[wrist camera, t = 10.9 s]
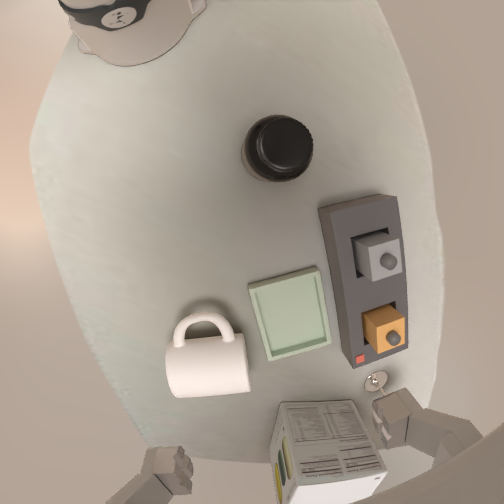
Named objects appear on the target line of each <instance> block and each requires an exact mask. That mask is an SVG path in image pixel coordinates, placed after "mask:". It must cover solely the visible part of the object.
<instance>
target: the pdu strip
mask: <svg viewBox="0 0 504 504" xmlns="http://www.w3.org/2000/svg"><path fill="white" fill-rule="evenodd" d="M318 212H319V217H320V221H321V226H322V231H323V236H324V241H325V246H326V252H327V257H328V262H329V268H330V274H331V279H332V285H333V291H334V297H335V304H336V310H337V317H338V324H339V331H340V338H341V346H342V352H343V353H344V355H345V357H346V358H347V360H348V361H349V363H350V365H351V366H352V368H353V369H355V368H358V367H360V366H363V365H366V364H369V363H371V362H374V361H377V360H379V359H382V358H384V357H387V356H390V355H392V354H395V353H397V352H399V351H402V350H404V349H407V348H408V301H407V282H406V268H405V257H404V247H403V238H402V229H401V222H400V215H399V208H398V201H397V196H390V195H382V194H377V195H372V196H368V197H364V198H359V199H355V200H351V201H347V202H342V203H338V204H334V205H330V206H326V207H322V208H318ZM376 230H378V231H381V232H383V233H386V234H389V235H391V236H394V237H396V238H399V243H400V252H401V263H402V272H401V273H398V274H395V275H392V276H389V277H386V278H383V279H380V280H377V281H374V282H372V281H371V280H370V279H368V278H367V277H366V276H364V275H363V274H362V273H360V272H359V271H358V270H356V269H355V263H354V256H353V250H352V244H351V238H350V237H354V236H357V235H361V234H365V233H368V232H372V231H376ZM385 304H390V305H391V306H392V307H393V308H394V309H395V310H397V311H398V312H399V313H400V314H401V315H403V316H404V319H405V344H402V345H400V346H397V347H395V348H392V349H390V350H387V351H384V352H382V353H379V354H377V352H376V351H375V350H374V349H373V347H372V346H371V345H370V343H369V342H368V341H367V340H366V339H365V337H364V336H363V328H362V318H361V313H362V312H365V311H368V310H371V309H374V308H377V307H380V306H382V305H385Z"/></svg>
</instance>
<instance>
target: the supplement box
mask: <svg viewBox="0 0 504 504" xmlns="http://www.w3.org/2000/svg"><path fill="white" fill-rule="evenodd" d="M269 453H270V459H271V466H272V472H273V478H274V485H275V492H276V498H277V504H350V503H353V502H356V501H359V500H362V499H364V498H367V497H370V496H371V495H372V493H373V492H374V490H375V489H376V487H377V486H378V485H379V484H380V482H381V481H382V480H383V478H384V477H385V475H386V474H387V473H388V470H387V468H386V466H385V464H384V462H383V460H382V458H381V456H380V454H379V452H378V450H377V448H376V446H375V444H374V442H373V440H372V438H371V436H370V434H369V432H368V430H367V428H366V426H365V424H364V422H363V420H362V418H361V416H360V414H359V412H358V411H357V408H356V407H355V405H354V403H353V401H352V400H344V401H325V402H281V404H280V408H279V412H278V415H277V419H276V423H275V427H274V431H273V435H272V439H271V443H270V446H269Z"/></svg>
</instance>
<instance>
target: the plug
mask: <svg viewBox="0 0 504 504" xmlns="http://www.w3.org/2000/svg"><path fill="white" fill-rule="evenodd" d="M361 318H362V328H363V336H364V337H365V339H366V340H367V341H368V342H369V343H370V345H371V346H372V347H373V349H374V350H375V351H376V352H377V354H379V353H382V352H384V351H387V350H390V349H392V348H395V347H397V346H400V345H402V344H405V319H404V316H403V315H401V314H400V313H399V312H398V311H397V310H395V309H394V308H393V307H392V306H391V305H390V304H385V305H382V306H380V307H377V308H374V309H371V310H368V311H365V312H362V313H361Z"/></svg>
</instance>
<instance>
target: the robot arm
mask: <svg viewBox="0 0 504 504" xmlns="http://www.w3.org/2000/svg"><path fill="white" fill-rule="evenodd" d="M58 1H59V4H60V6H61V7H62V8H63V10H64V12H65V13H66V14H67V15H68V16H69V17H70V19H69V22H68V25H69V27H70V28H71V30H72V31H73V32H74V33H75V34H76V35H77V36H78V38H79V43H78V48H79V50H80V51H81V52H83V53H87V54H95V55H97V56H99V57H100V58H102V59H103V60H104V61H106V62H108V63H111V64H114V65H119V66H131V65H137V64H141V63H145V62H148V61H150V60H153V59H155V58H157V57H159V56H160V55H162V54H164V53H165V52H167V51H168V50H169V49H171V48H172V47H173V46H174V45H175V44H176V43H177V42H178V41H179V40H180V39H181V38H182V36H183V35H184V33H185V32H186V30H187V28H188V26H189V24H190V23H191V21H192V20H193V19H194V18H195V17H196V16H198V15H199V14H200V13H201V12H202V11H203V10H204V9H205V8H206V2H205V0H195V1H192V0H58ZM372 407H373V409H374V412H373V413H372V418H373V423H374V426H375V429H376V431H377V433H380V434H382V435H381V440H382V442H383V444H384V445H385V447H386V449H387V450H388V449H390V448H393V447H395V446H398V445H400V444H403V443H406V444H408V445H410V446H412V447H413V448H416V449H417V450H420V451H422V452H424V453H426V454H428V455H430V456H432V457H434V458H435V459H434V462H433V465H432V468H431V469H430V470H428V471H427V472H425V473H423V474H421V475H419V476H417V477H415V478H412V479H410V480H408V481H406V482H404V483H402V484H399V485H397V486H395V487H393V488H390V489H388V490H385V491H383V492H380V493H378V494H375V495H373V496H370V497H367V498H364V499H362V500H359V501H356V502H353V503H350V504H504V423H503V424H501V425H500V426H498V427H497V428H496V429H495V430H493V431H492V432H490V433H489V434H488V435H486V436H485V437H483V436H482V435H481V433H480V432H479V431H478V430H477V429H476V427H474V425H473V424H472V423H471V422H470V421H469V420H465V419H462V418H458V417H454V416H451V415H448V414H444V413H441V412H437V411H434V410H431V409H427V408H425V409H423V408H422V407H421V406H420V405H419V403H418V402H417V401H416V399H415V398H414V397H413V396H412V394H411V393H410V392H409V391H408V389H407V388H402V389H400V390H398V391H395V392H393V393H390V394H388V395H386V396H383V397H381V398H378V399H376V400H373V402H372ZM184 452H185V450H184V449H183V448H182V446H171V447H149V448H148V449H147V451H146V454H145V458H144V462H143V465H142V469H141V473H140V474H137V475H136V476H135V477H134V478H133V479H132V480H131V481H129V482H128V483H127V484H126V485H125V486H124V487H123V488H122V489H121V490H119V491H118V492H117V493H116V494H115V495H114V496H113V497H111V498H110V499H109V500H108V501H107V502H106V504H168V503H169V501H170V500H171V499H172V497H173V495H185V494H191V490H192V482H191V480H190V478H191V477H192V476H193V465H192V462H191V459H190V458H189V456H187V455H185V454H184Z"/></svg>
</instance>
